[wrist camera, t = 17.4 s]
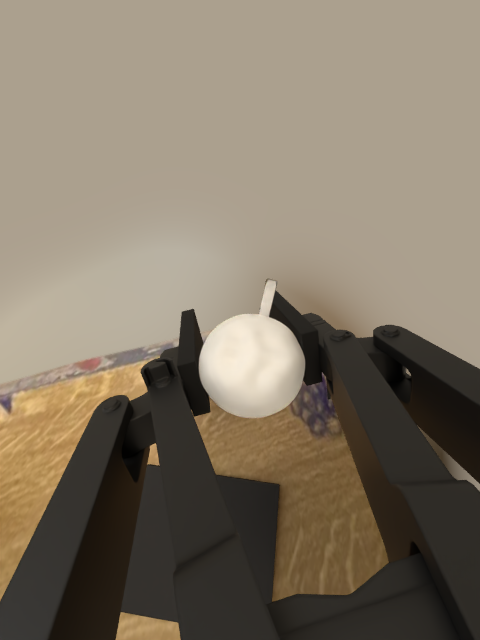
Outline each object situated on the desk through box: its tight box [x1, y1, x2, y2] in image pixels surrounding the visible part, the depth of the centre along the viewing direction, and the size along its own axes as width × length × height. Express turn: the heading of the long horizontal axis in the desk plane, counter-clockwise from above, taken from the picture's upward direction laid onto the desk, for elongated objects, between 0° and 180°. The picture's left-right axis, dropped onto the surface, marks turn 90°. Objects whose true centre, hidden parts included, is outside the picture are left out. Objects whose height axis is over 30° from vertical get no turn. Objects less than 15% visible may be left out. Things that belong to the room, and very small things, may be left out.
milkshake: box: [199, 279, 305, 418], centre depth 15 cm, size 4×5×10 cm
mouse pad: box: [121, 465, 280, 622], centre depth 22 cm, size 12×10×1 cm
